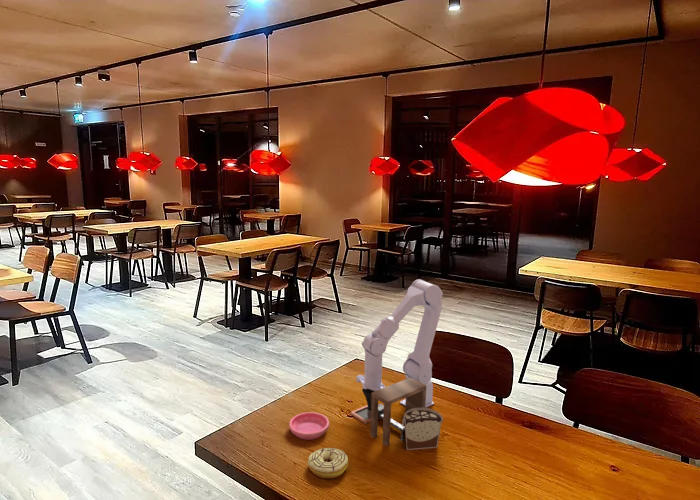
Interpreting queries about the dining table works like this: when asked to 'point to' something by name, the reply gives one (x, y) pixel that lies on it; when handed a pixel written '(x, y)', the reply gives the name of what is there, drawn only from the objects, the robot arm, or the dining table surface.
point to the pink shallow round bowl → (309, 425)
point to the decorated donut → (328, 462)
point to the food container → (421, 428)
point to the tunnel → (392, 394)
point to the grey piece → (393, 422)
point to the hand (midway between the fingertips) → (371, 408)
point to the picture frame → (362, 414)
